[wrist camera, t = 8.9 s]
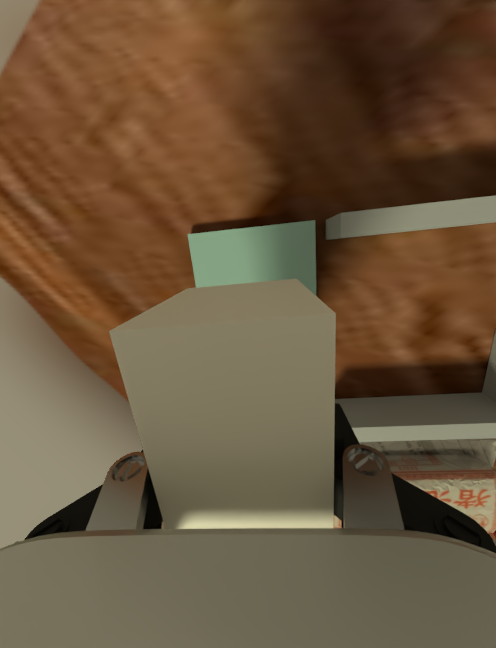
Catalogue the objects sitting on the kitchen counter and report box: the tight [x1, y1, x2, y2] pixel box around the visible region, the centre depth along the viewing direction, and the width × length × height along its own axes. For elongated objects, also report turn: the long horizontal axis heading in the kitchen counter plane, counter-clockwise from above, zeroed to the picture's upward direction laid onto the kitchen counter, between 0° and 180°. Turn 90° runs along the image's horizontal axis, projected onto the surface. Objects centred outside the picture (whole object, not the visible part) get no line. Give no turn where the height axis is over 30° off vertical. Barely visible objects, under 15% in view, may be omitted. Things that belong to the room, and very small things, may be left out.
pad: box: [188, 220, 316, 296], centre depth 22 cm, size 10×18×1 cm, turn 6°
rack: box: [326, 195, 496, 442], centre depth 19 cm, size 16×18×4 cm
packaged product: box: [333, 438, 496, 533], centre depth 24 cm, size 18×5×10 cm
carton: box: [109, 279, 336, 529], centre depth 10 cm, size 5×12×6 cm, turn 6°
